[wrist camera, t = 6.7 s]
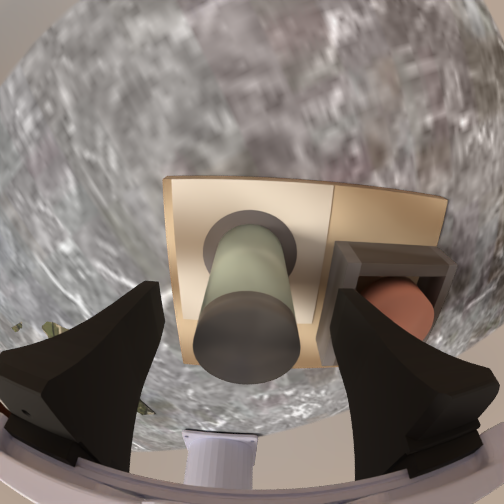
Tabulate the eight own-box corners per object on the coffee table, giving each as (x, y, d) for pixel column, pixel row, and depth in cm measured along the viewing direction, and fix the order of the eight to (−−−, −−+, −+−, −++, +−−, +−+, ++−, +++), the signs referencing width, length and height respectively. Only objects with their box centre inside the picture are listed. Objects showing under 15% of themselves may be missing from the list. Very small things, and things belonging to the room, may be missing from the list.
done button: (405, 336, 16) (416, 356, 14) (341, 340, 16) (349, 364, 14) (428, 275, 14) (445, 294, 12) (359, 274, 14) (372, 296, 12)
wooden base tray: (389, 355, 20) (402, 384, 17) (185, 355, 20) (177, 389, 17) (440, 196, 14) (472, 214, 11) (167, 176, 14) (145, 191, 11)
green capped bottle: (280, 284, 16) (293, 384, 10) (217, 282, 16) (197, 381, 10) (285, 225, 14) (308, 311, 8) (216, 222, 14) (187, 306, 8)
